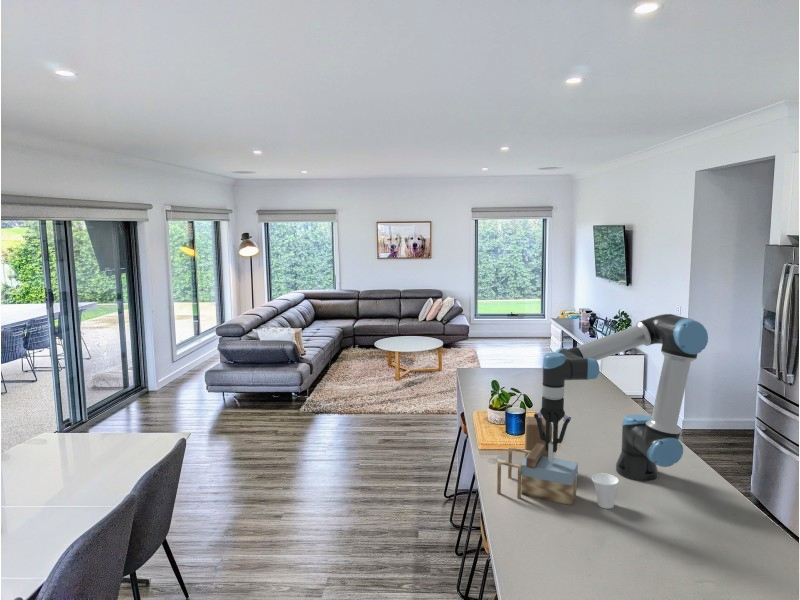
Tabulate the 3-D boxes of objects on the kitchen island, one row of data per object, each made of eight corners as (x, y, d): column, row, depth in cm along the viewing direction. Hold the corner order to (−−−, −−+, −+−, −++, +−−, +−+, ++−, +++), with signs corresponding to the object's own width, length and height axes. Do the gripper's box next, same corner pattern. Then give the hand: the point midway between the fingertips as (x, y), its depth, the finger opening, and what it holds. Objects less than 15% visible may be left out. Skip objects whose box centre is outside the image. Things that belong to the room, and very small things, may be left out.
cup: (617, 500, 193) (618, 473, 191) (618, 513, 184) (619, 485, 183) (590, 496, 195) (591, 470, 194) (590, 509, 187) (592, 481, 185)
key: (544, 453, 204) (544, 444, 203) (534, 468, 191) (534, 459, 190) (536, 451, 205) (536, 442, 205) (526, 467, 192) (526, 457, 191)
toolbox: (577, 491, 200) (578, 459, 198) (570, 509, 186) (571, 476, 185) (508, 476, 212) (509, 447, 210) (497, 493, 198) (497, 461, 197)
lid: (577, 472, 197) (577, 462, 196) (571, 485, 187) (572, 474, 187) (528, 463, 205) (528, 453, 205) (520, 475, 195) (520, 464, 195)
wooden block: (551, 474, 213) (552, 425, 211) (525, 472, 215) (526, 424, 213) (549, 463, 223) (550, 416, 220) (524, 461, 225) (525, 415, 222)
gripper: (573, 396, 192) (571, 459, 195) (537, 391, 198) (535, 452, 201) (569, 402, 186) (567, 467, 189) (532, 397, 192) (530, 460, 195)
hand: (551, 459), depth 195 cm, fingers closed
